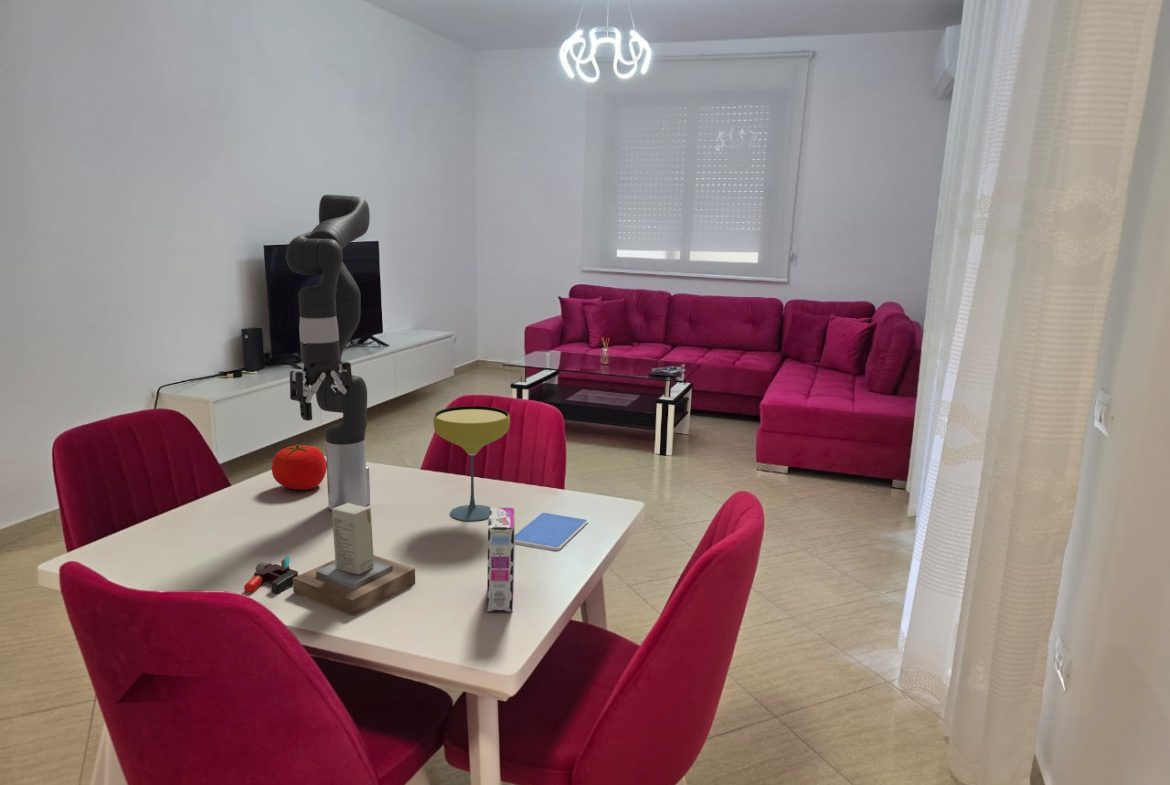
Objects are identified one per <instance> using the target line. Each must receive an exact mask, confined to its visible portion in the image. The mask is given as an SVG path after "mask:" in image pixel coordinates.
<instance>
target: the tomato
mask: <svg viewBox="0 0 1170 785" xmlns="http://www.w3.org/2000/svg"><path fill="white" fill-rule="evenodd" d="M271 474H272V478H273V479H274V480H275V481H276V482H277V483H278V484H280V486H283V487H285V488H287V489H291V490H296V491H306V490H307V491H308V490H311V489H314V488H317V487H318V486H319V485H320V484H321V483H322V482H323V481H324V478H325V476H326V475H327V461H326V457H325V455H324V453H323V452H322V450H320V449H319V448H317V447H315V446H311V445H304V444H302V445H301V444H295V445H291V446H287V447H284V448H281V449H280V450H279V451H277V453H276V454H275V455H274V456H273V459H272V464H271Z"/></svg>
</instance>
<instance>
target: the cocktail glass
mask: <svg viewBox="0 0 1170 785" xmlns="http://www.w3.org/2000/svg"><path fill="white" fill-rule="evenodd" d="M510 426H511V417H510V414H509V412H508V411H507V410H504V409H502V408H499V407H498V408H497V407H491V406H484V405H483V406H481V405H466V406H465V405H464V406H455V407H448V408H443V409H441V410H439V411H436V412H435V413H434V416H433V429H434V431H435V433H436V434H437V435H438V436H439V437H441V439H443V440H445V441H447V442H450V443H451V444H454V445H456V446H459V447H461V449H463V450H464V451H465V453H466V454H467V455H469V456H470V500H469V504H464V505H459V506H457V507H454V508H452V509H451V511H450V512H449V515H450V516H451V518H453V519H455V520H456V521H462V522H481V521H485V520H489V513H490V508H491V506H488V505H482V504H476V500H475V488H474V487H475V486H474V485H475V483H474V482H475V481H474V471H475V470H474V456H476V455H477V454H478V453H479V452H480V450H481V449H482V448H483V447H485V446H486V445H489V444H492V443H493V442H495V441H497V440H499V439H501V438H503V436H505V435H506V434H507V433H508V432H509V429H510Z"/></svg>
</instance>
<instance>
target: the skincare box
mask: <svg viewBox="0 0 1170 785" xmlns="http://www.w3.org/2000/svg"><path fill="white" fill-rule="evenodd" d="M371 509H372V507H369V506H367V507H365V506H361V505H356V504H351V503H346V504H344V505H341V506H338V507H336V508H333V509H332V511H331V515H332V516H331V518H332V530H333V546H334V560H335V563H336V569H339V570H343V571H346V572H350V573H354V574H358V575H359V574H361V573H363V572H365V571H367V570H369V569H371V568H373V567H374V557H373V555H374V544H373V542H374V541H373V526H372V524H373V522H372V510H371Z"/></svg>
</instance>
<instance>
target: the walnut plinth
mask: <svg viewBox="0 0 1170 785" xmlns="http://www.w3.org/2000/svg"><path fill="white" fill-rule="evenodd" d="M373 557H374V567H373V568H371V569H369V570H367V571H365V572H363V573H361V574H359V575H358V574H354V573H350V572H346V571H343V570H339V569H336V563H335V559H332V560H331V561H328V562H326V563H324V564H321V565H319V566H317V567H315V568H313V569H310V570H308V571H306V572H305V571H304V572H303V573H301V574H298V576H296V577H294V578H293V585H292V587H293V588H292V589H293V590H292V591H293V594H295V595H299V596H301V597H304V598H306V599H308V600H312V601H314V602H317V603H319V604H322V605H324V606H328V607H329V608H332V609H335V610H338V611H341V612H343V613H345V614H348V615H350V616H355V615H357V614H359V613H361V612H363V611H365V610H366V609H368V608H370V607H372V606H374V605H376V604H378V603H379V602H382V601H384V600H385V599H387V598H389V597H391V596H393V595H395V594H396V593H398V592H401V591H403V590H405V589H406V588H408V587H410V586H412V585H414V584H416V568H414V567H411V566H409V565H406V564H403V563H399V562H396V561H393V560H390V559H386V558H383V557H381V556H378V555H375V554H373Z"/></svg>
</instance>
